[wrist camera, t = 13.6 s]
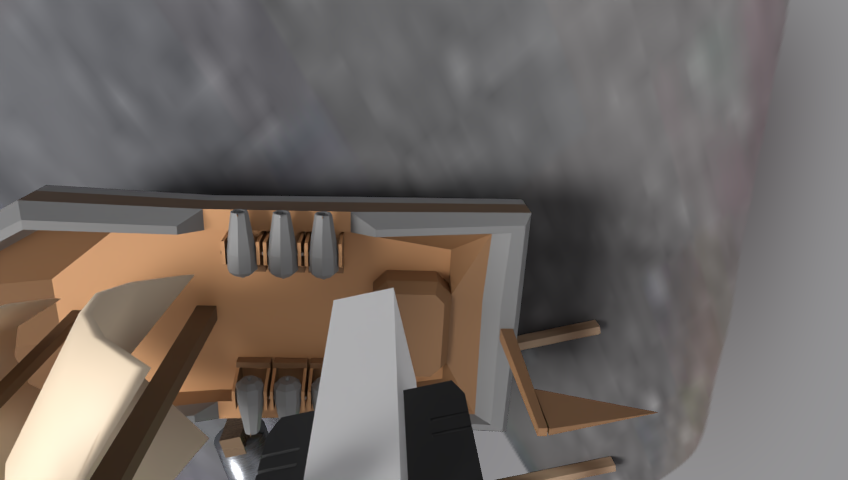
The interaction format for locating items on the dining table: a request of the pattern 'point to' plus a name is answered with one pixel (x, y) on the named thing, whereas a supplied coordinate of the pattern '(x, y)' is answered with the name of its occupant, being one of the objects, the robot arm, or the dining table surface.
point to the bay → (566, 475)
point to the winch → (240, 449)
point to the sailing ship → (240, 317)
